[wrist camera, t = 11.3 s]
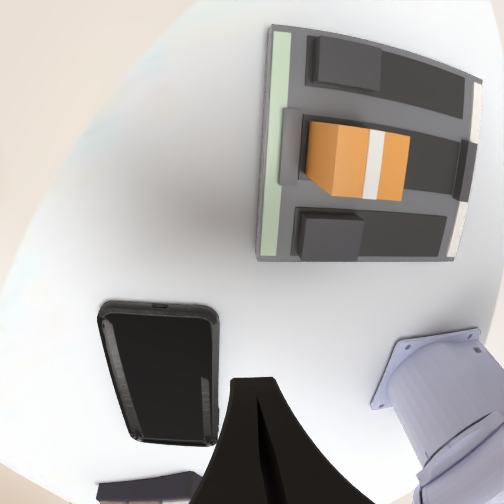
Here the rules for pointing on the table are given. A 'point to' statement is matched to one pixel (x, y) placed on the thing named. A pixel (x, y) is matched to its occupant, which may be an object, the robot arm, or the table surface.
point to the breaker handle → (357, 161)
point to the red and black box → (151, 490)
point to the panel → (371, 117)
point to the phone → (164, 370)
